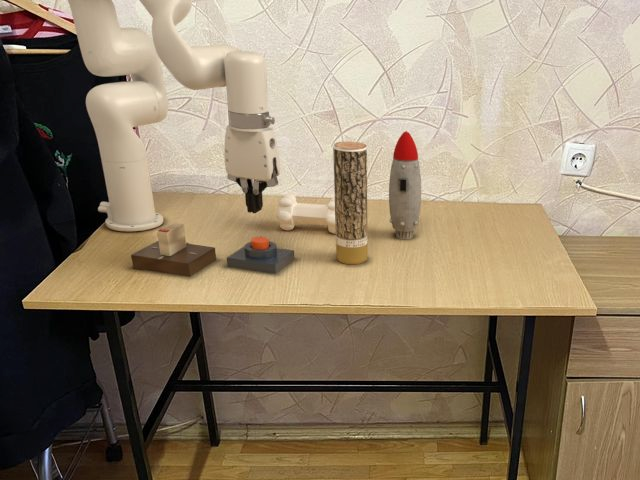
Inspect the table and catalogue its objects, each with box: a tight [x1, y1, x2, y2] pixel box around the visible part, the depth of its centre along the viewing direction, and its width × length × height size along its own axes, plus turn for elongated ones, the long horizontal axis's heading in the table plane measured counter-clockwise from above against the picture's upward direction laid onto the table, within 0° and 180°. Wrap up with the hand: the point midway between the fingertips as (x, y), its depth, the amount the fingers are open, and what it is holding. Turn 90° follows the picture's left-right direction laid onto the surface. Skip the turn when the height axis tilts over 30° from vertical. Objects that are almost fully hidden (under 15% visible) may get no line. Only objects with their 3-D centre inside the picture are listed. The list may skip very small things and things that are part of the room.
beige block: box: [156, 222, 187, 256], centre depth 147 cm, size 6×2×5 cm, turn 167°
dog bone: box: [276, 193, 336, 235], centre depth 172 cm, size 15×9×8 cm, turn 87°
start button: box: [250, 236, 270, 249], centre depth 151 cm, size 4×4×2 cm
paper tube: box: [332, 141, 368, 266], centre depth 152 cm, size 7×7×25 cm
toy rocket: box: [388, 130, 422, 240], centre depth 168 cm, size 8×8×25 cm
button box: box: [226, 240, 296, 275], centre depth 152 cm, size 11×9×4 cm
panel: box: [130, 240, 217, 278], centre depth 149 cm, size 13×10×3 cm
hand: (254, 210), depth 148 cm, fingers closed
